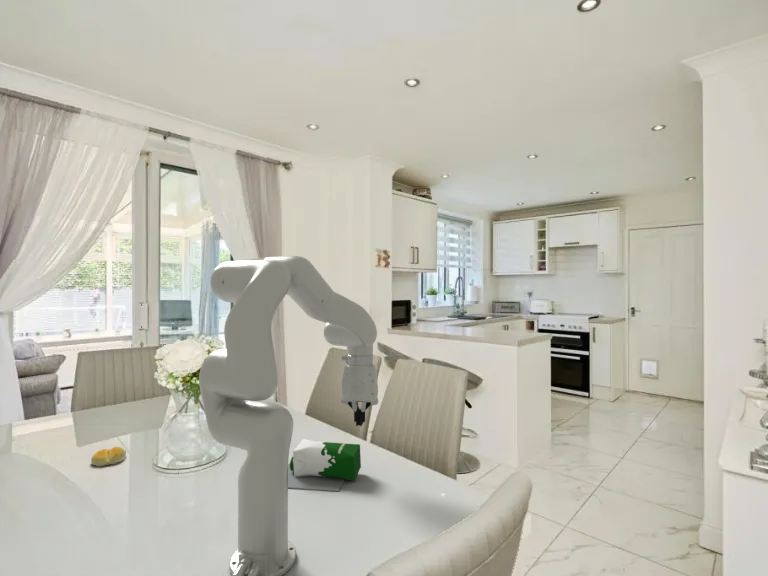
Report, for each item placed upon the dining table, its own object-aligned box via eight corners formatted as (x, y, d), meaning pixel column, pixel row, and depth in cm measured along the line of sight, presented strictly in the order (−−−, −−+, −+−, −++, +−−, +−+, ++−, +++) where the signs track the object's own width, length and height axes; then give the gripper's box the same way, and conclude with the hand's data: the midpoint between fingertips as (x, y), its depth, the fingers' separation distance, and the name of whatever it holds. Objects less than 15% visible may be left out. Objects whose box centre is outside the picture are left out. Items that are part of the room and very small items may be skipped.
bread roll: (94, 459, 129) (94, 446, 129) (127, 454, 133) (127, 442, 133) (88, 469, 121) (88, 456, 121) (123, 464, 125) (123, 451, 125)
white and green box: (361, 468, 120) (299, 462, 124) (360, 439, 119) (297, 434, 123) (353, 485, 112) (286, 479, 116) (352, 455, 111) (284, 449, 115)
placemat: (338, 491, 108) (338, 490, 108) (270, 487, 110) (270, 486, 110) (350, 465, 124) (350, 464, 124) (291, 462, 126) (291, 461, 126)
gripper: (331, 362, 113) (330, 427, 113) (384, 363, 111) (383, 430, 111) (337, 357, 120) (337, 419, 120) (387, 358, 118) (387, 421, 118)
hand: (359, 424), depth 116 cm, fingers closed
